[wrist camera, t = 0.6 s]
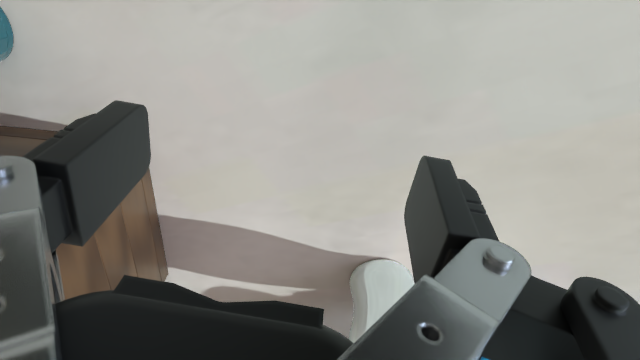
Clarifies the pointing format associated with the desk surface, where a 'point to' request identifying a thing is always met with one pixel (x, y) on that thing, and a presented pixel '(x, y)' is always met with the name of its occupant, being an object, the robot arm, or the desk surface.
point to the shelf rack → (104, 232)
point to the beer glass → (376, 292)
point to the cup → (5, 36)
